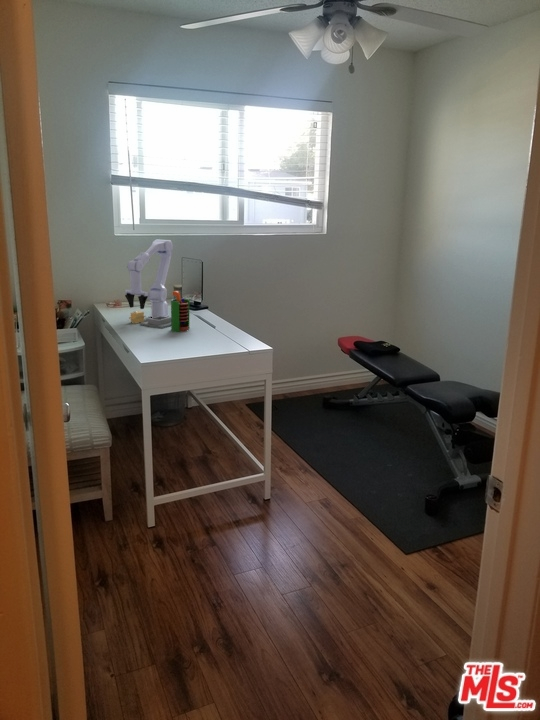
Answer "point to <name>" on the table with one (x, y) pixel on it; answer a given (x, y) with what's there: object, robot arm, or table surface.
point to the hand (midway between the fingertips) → (136, 308)
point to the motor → (179, 313)
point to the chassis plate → (158, 322)
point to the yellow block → (137, 316)
